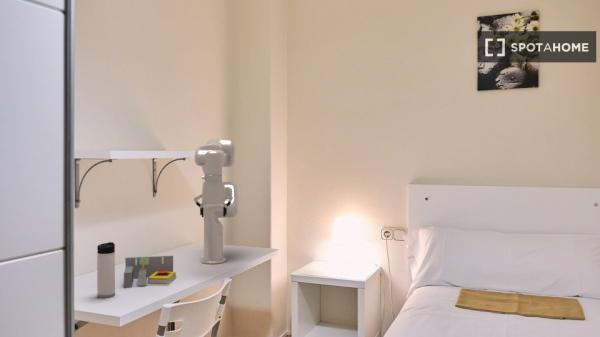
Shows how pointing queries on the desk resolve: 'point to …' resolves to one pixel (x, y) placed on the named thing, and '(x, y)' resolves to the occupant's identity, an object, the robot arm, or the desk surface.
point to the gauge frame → (150, 263)
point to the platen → (142, 275)
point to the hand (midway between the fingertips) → (213, 216)
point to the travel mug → (106, 270)
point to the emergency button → (161, 278)
